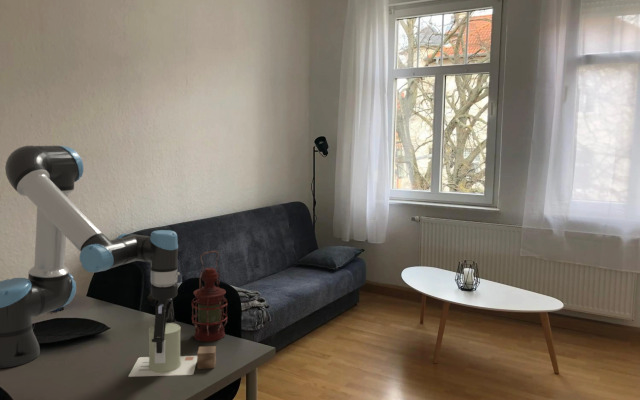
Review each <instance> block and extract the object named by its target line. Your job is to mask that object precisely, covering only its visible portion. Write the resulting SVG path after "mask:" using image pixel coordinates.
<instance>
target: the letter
mask: <svg viewBox="0 0 640 400" xmlns="http://www.w3.org/2000/svg"><path fill="white" fill-rule="evenodd" d="M180 361H181V365H180V367H179V368H177V369H175V370H173V371H169V372H154V371H152V370H150V369H149V356H141V357H138V358H137V359H136V362H135V364H134V366H133V367H132V369H131V371H130V373H129V374H128V378H130V377H131V378H133V377H134V378H135V377H158V376H159V377H161V376H162V377H163V376H166V377H167V376H191V375H192V376H193V375H194V372H195V369H196V366H197V355H183V356H182V355H180Z"/></svg>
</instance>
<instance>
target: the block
mask: <svg viewBox="0 0 640 400" xmlns="http://www.w3.org/2000/svg"><path fill="white" fill-rule="evenodd" d="M216 353H217V346H215V345H213V346H198V350H197V354H196V356H197V362H196V366H197V367H196V368H197V370H199V369H201V370H202V369H215V367H216V363H217V354H216Z"/></svg>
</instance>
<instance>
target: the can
mask: <svg viewBox="0 0 640 400" xmlns="http://www.w3.org/2000/svg"><path fill="white" fill-rule="evenodd" d="M154 326H155V324H154V325H151V326H150V327H149V328H148V357H149V369H150V370H152V371H154V372H169V371H173V370H175V369H177V368H179V367H180V365H181V361H180V356H181V328H182V327H181V326H180V325H179V324H177V323H175V322H171V323H166V328H165V337H164V340H165V363H155V342H152V339H153V338H154ZM157 338H159V337H157Z"/></svg>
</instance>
